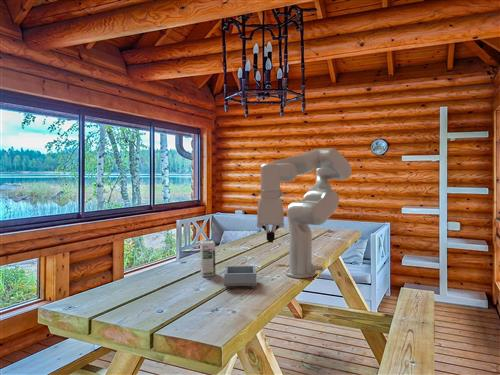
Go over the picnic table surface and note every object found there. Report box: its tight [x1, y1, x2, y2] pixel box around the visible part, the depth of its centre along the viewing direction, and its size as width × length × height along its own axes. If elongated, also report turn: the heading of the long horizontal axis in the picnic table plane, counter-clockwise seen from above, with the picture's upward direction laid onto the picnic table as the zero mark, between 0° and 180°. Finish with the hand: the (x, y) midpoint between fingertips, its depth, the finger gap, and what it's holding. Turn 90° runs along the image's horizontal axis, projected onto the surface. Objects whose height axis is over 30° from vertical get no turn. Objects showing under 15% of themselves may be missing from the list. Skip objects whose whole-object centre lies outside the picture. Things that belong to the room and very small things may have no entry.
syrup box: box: [199, 240, 217, 278], centre depth 162 cm, size 6×6×14 cm
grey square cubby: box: [223, 265, 257, 290], centre depth 147 cm, size 12×12×6 cm
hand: (270, 242), depth 147 cm, fingers closed
